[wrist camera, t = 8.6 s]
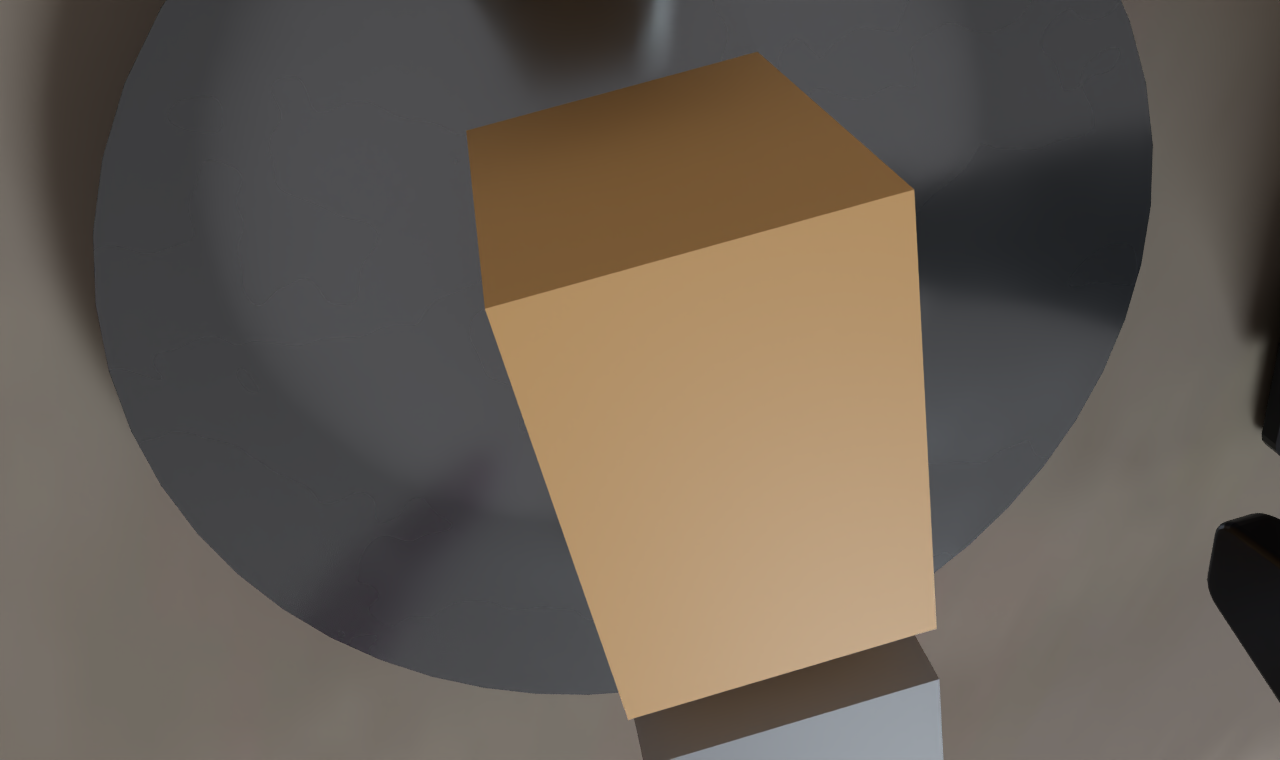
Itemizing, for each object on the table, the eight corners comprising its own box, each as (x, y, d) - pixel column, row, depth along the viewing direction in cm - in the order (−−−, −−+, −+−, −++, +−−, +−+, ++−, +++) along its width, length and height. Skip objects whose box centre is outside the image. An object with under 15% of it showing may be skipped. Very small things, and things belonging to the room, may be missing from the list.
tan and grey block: (757, 51, 13) (915, 189, 9) (823, 534, 18) (943, 767, 14) (466, 130, 13) (485, 308, 9) (616, 595, 18) (673, 849, 14)
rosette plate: (1148, -422, 12) (1357, -477, 9) (1082, 520, 21) (1178, 631, 18) (-149, -90, 11) (-326, -44, 9) (359, 734, 20) (349, 881, 18)
